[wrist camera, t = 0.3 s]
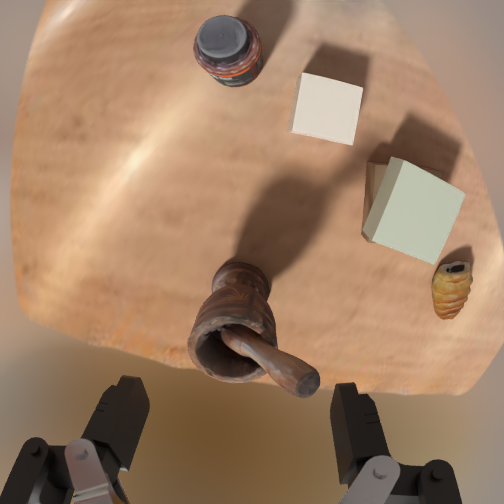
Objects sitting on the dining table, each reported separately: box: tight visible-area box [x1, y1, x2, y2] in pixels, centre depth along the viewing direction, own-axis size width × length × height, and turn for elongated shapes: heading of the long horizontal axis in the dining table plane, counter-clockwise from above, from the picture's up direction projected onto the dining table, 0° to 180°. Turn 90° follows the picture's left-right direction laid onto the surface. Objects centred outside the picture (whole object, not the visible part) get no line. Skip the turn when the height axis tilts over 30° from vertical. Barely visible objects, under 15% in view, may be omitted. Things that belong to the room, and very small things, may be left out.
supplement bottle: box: [193, 15, 263, 87], centre depth 25 cm, size 6×6×11 cm
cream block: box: [288, 72, 363, 145], centre depth 29 cm, size 6×6×6 cm
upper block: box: [362, 157, 465, 265], centre depth 31 cm, size 9×9×4 cm
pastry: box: [432, 261, 473, 320], centre depth 38 cm, size 9×7×4 cm
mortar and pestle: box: [187, 263, 320, 398], centre depth 31 cm, size 12×9×20 cm
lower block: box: [361, 162, 443, 243], centre depth 34 cm, size 9×9×4 cm
